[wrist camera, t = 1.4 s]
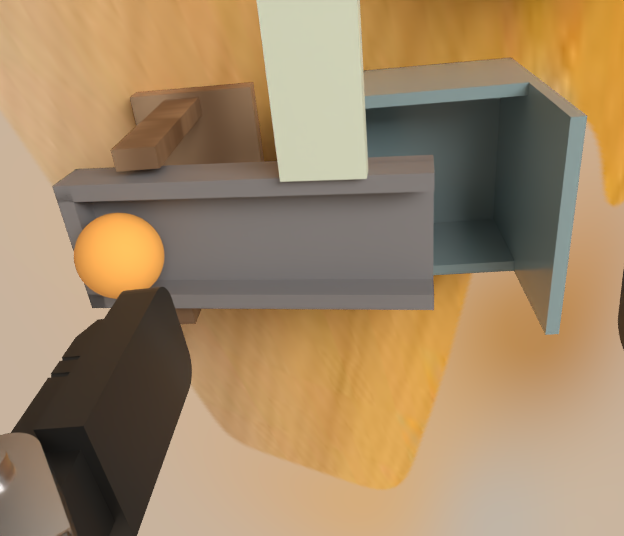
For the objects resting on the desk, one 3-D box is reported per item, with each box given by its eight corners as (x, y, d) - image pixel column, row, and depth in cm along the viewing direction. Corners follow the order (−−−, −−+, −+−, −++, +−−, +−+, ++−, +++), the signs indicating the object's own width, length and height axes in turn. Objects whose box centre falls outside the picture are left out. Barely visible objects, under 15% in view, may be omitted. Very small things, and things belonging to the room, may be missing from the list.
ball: (110, 272, 31) (72, 315, 27) (88, 200, 29) (44, 237, 25) (183, 271, 30) (154, 315, 27) (166, 197, 28) (132, 235, 25)
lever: (111, 285, 32) (88, 312, 30) (29, 14, 26) (-9, 22, 23) (432, 284, 29) (434, 314, 27) (434, -24, 22) (435, -18, 20)
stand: (171, 243, 40) (122, 332, 31) (136, 92, 35) (65, 146, 26) (274, 236, 39) (254, 325, 30) (252, 82, 34) (220, 134, 26)
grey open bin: (341, 233, 39) (339, 344, 29) (328, 73, 34) (320, 136, 24) (500, 223, 38) (558, 333, 28) (511, 57, 33) (586, 115, 23)
